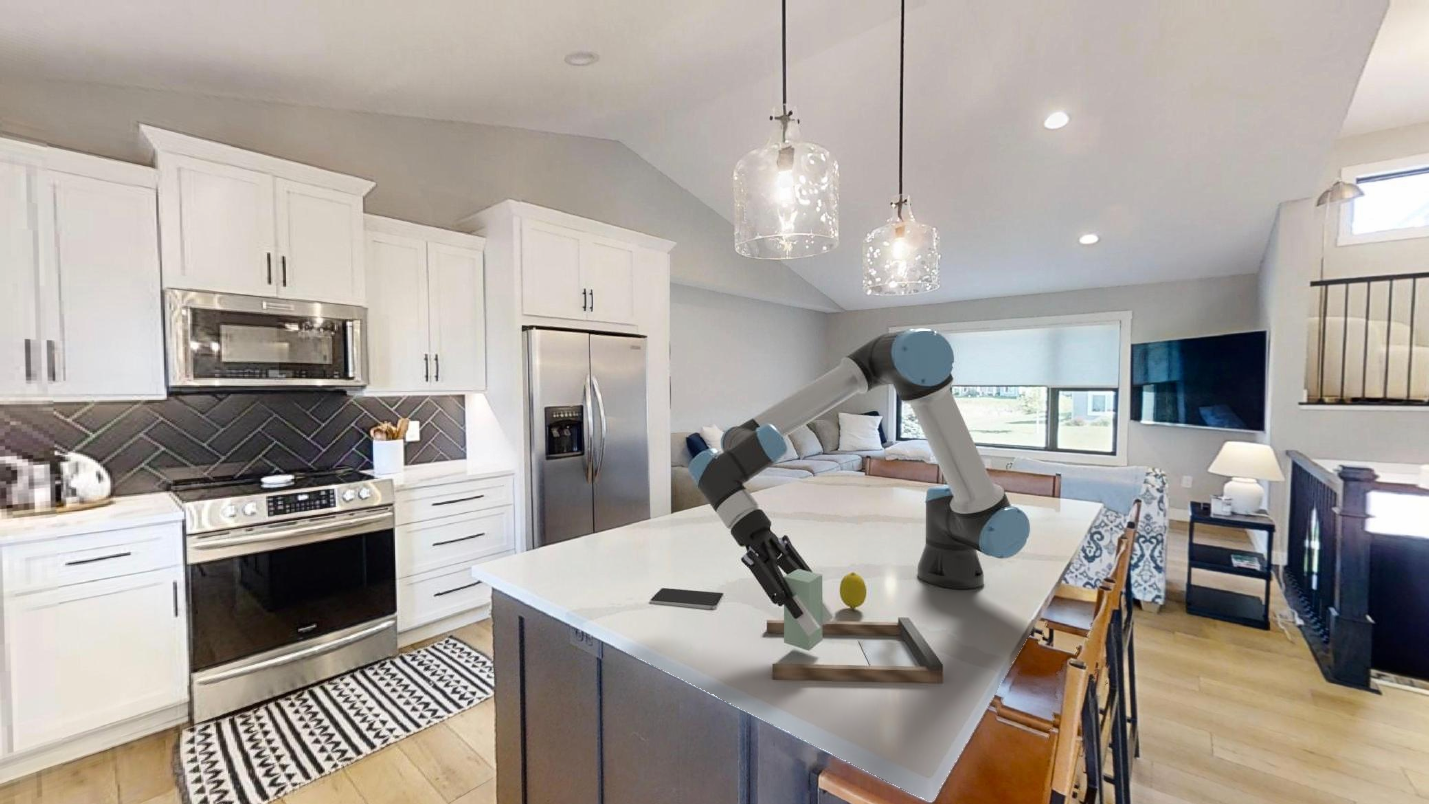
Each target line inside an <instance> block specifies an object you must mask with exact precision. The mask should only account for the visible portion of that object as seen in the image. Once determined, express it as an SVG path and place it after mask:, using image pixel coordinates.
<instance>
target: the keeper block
mask: <svg viewBox="0 0 1429 804" xmlns="http://www.w3.org/2000/svg"><path fill="white" fill-rule="evenodd" d="M783 577H784V579H785V580H786V582H787V584H788V586H789V588H790V590H791V592H792V594H793V597H794V596H795V595H797V596H798V597H799V598H800V600H801V601H802V602H803V604H804V605H805V607H806V608H807V609H808V611H809V612H810V613H811V615H812V616H813V618H814V619H815V620H816V622H817V623H818V624H819V626H820V628H819V629H818V630H816V631H815V632H814V633H813V634H811V635H810V636H809V637H808V635H807V634H806V633H805V631H804V630H803V628H802V627H801V626H800V624H799V623H798V621H797V620H796V619H795V618H794V617H793V616H792V614H791V613H790V612H789V610H788V609H787V607H786V606H785V605H783V620H784V633H783V643H784V644H787V645H790V646H793V647H795V648H799V649H802V650H806V651H808V652H809V651H811V650H812V649H813V648H814V647H816V646H817V645H818V644H819V643H821V642H822V641H823V634H822V598H823V574H821V573H818V572H817V573H816V572H813V571H812V572H809V571H804V570H800V569H797V570H795V571H793V572H791V573H790V574H788V575H787V574H785V575H783ZM793 597H792V598H793Z"/></svg>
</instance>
